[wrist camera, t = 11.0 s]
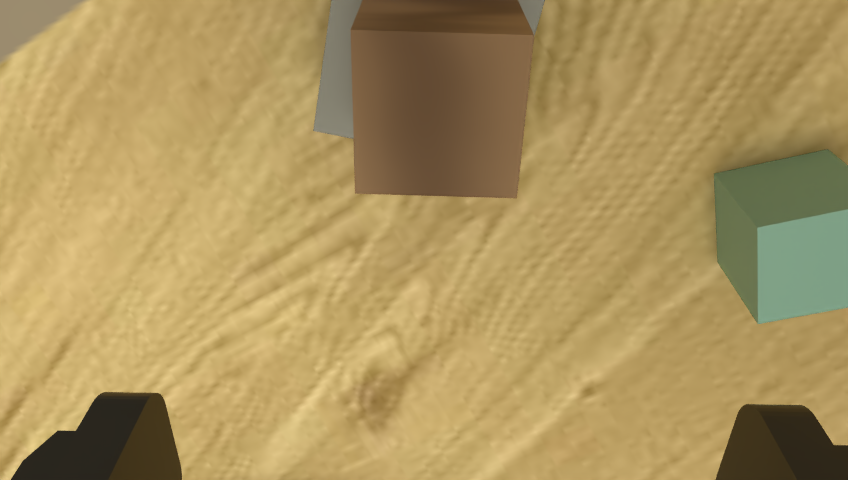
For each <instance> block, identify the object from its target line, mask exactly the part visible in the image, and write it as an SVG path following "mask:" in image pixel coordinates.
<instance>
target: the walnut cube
mask: <svg viewBox="0 0 848 480" xmlns="http://www.w3.org/2000/svg"><path fill="white" fill-rule="evenodd" d="M533 42H534V34H533V32H532V29H531V27H530V25H529V23H528V21H527V19H526V16H525V14H524V12H523V10H522V8H521V6H520V4H519V1H518V0H362V3H361V5H360V8H359V10H358V13H357V15H356V17H355V20H354V22H353V25H352V27H351V65H352V100H353V134H354V169H355V193H357V194H391V195H425V196H460V197H494V198H517V191H518V182H519V172H520V163H521V154H522V144H523V135H524V126H525V116H526V107H527V98H528V89H529V79H530V70H531V61H532V51H533Z"/></svg>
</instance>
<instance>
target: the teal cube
mask: <svg viewBox="0 0 848 480" xmlns="http://www.w3.org/2000/svg"><path fill="white" fill-rule="evenodd" d="M714 187H715V211H716V235H717V259H718V264H719V265H720V267H721V268H722V270H723V271H724V273H725V274H726V276H727V277H728V279H729V280H730V282H731V284H732V285H733V287H734V288H735V290H736V291H737V293H738V294H739V296H740V297H741V299H742V300H743V302H744V303H745V305H746V306H747V308H748V310H749V311H750V313H751V314H752V316H753V317H754V319H755V320H756V322H757V323H758V324H761V323H766V322H772V321H777V320H783V319H788V318H794V317H799V316H804V315H810V314H815V313H821V312H826V311H831V310H837V309H842V308H848V165H846V164H845V163H844V162H843V161H842V160H840V159H839V158H838V157H837V156H836V155H834V154H833V153H832V152H831V151H829V150H828V149H827V150H822V151H817V152H813V153H808V154H803V155H799V156H794V157H789V158H785V159H780V160H775V161H771V162H766V163H761V164H757V165H752V166H747V167H743V168H738V169H733V170H729V171H724V172H720V173H715V174H714Z"/></svg>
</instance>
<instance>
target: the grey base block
mask: <svg viewBox="0 0 848 480" xmlns="http://www.w3.org/2000/svg"><path fill="white" fill-rule="evenodd" d="M518 1H519V4H520V6H521V8H522V10H523V12H524V14H525V16H526V19H527V21H528V23H529V25H530V27H531V29H532V32H533V34H534V35H535V32H536V29H537V25H538V22H539V18H540V15H541V12H542V8H543V5H544V1H545V0H518ZM361 3H362V0H331V7H330V15H329V22H328V29H327V36H326V44H325V51H324V58H323V65H322V72H321V80H320V87H319V94H318V101H317V108H316V116H315V123H314V130H313V131H317V132H322V133H327V134H332V135H337V136H342V137H347V138H352V139H354V134H353V100H352V65H351V27H352V25H353V22H354V20H355V17H356V15H357V13H358V10H359V8H360V5H361Z"/></svg>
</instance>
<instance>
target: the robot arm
mask: <svg viewBox="0 0 848 480" xmlns="http://www.w3.org/2000/svg"><path fill="white" fill-rule="evenodd" d="M11 480H182V472H181V465H180V461H179V457H178V453H177V449H176V445H175V441H174V437H173V433H172V429H171V425H170V421H169V417H168V412H167V408H166V404H165V401H164V399H163V397H162V396H161V394H159V393H123V392H104V393H101V394H100V395H98V396H97V397H96V399H95V400H94V401H93V403H92V405H91V406H90V408H89V410H88V411H87V413H86V415H85V417H84V418H83V420H82V422H81V423H80V425H79V427H78V428H77V430H76V431H57V432H56V433H55V434H54V435H52V436H51V437H50V438H49V439H48V440H47V441H45V442H44V443H43V444H42V445H41V446H40V447H38V448H37V449H36V450H35V451H34V452H33V453H32V454H30V455H29V456H28V457H27V458H26V459H25V460H23V462H22V463H21V465H20V466H19V468H18V469H17V471H16V472H15V474H14V476H13V477H12V479H11ZM716 480H848V446H845V445H833V443H832V442H831V440H830V439H829V437H828V436H827V434H826V433H825V431H824V429H823V428H822V426H821V425H820V423H819V422H818V420H817V419H816V417H815V416H814V414H813V413H812V412H811V411H810V410H809V409H808V408H806V407H805V406H802V405H756V404H746V405H744V406H743V407H742V408H741V409H740V410H739V412H738V415H737V417H736V420H735V423H734V426H733V429H732V432H731V435H730V438H729V441H728V444H727V447H726V450H725V453H724V456H723V459H722V462H721V465H720V468H719V471H718V473H717V477H716Z"/></svg>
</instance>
